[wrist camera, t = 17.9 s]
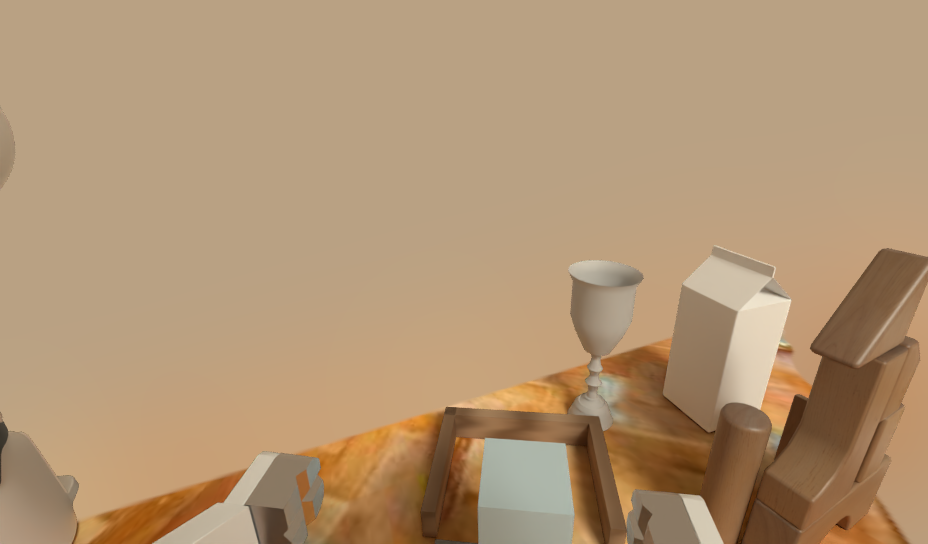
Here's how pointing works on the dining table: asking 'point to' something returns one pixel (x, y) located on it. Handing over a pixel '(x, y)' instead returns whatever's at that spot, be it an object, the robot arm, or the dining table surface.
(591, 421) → the wooden rectangular frame
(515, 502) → the block
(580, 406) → the chalice
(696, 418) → the milk carton
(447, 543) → the dark grey flat plate
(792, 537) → the wooden toy
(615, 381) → the dining table surface
